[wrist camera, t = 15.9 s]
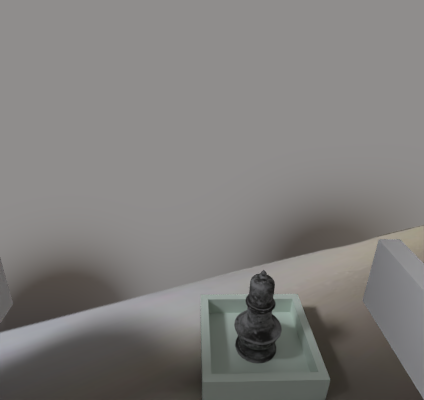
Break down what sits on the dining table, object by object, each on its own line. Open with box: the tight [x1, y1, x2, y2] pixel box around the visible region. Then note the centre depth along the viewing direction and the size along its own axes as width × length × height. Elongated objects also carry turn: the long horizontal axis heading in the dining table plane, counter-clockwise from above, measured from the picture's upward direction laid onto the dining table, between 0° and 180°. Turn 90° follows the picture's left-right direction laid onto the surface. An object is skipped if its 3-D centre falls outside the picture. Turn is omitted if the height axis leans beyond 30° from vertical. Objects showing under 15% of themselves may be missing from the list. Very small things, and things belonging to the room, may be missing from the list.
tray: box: [201, 294, 330, 400], centre depth 46 cm, size 14×14×4 cm
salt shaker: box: [234, 270, 282, 363], centre depth 43 cm, size 6×6×12 cm
